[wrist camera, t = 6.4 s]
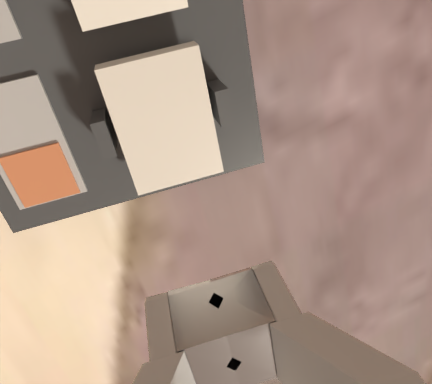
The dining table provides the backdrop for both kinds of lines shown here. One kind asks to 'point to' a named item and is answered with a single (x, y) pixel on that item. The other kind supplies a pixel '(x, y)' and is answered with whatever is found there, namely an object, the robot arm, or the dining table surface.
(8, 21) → the switch unit
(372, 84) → the dining table surface
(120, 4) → the switch mid
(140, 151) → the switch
